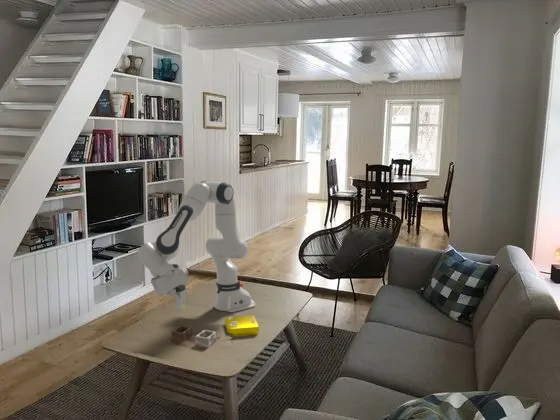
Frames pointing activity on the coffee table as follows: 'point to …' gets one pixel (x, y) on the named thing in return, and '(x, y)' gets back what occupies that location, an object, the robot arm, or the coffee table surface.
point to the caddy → (193, 338)
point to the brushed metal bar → (181, 298)
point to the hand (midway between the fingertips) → (182, 296)
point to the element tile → (242, 325)
